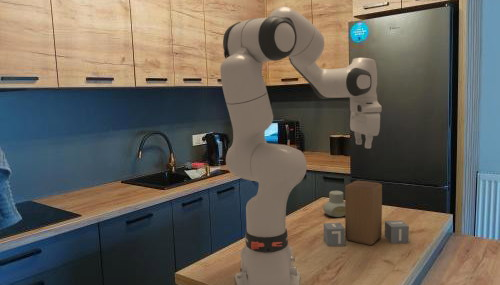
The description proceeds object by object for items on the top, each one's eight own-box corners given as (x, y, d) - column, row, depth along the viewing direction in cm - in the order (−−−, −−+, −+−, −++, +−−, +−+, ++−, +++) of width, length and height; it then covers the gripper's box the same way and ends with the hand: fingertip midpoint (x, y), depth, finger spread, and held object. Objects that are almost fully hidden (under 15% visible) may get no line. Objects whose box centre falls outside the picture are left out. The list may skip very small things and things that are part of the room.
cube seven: (345, 245, 131) (345, 228, 130) (327, 246, 131) (327, 228, 130) (340, 238, 137) (340, 222, 136) (323, 239, 137) (323, 222, 136)
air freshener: (344, 211, 168) (344, 189, 167) (352, 217, 160) (352, 193, 158) (320, 213, 166) (320, 190, 165) (327, 219, 158) (327, 195, 157)
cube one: (408, 243, 131) (409, 225, 131) (391, 243, 131) (391, 226, 130) (401, 236, 138) (401, 219, 137) (384, 237, 137) (384, 220, 137)
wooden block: (356, 231, 143) (356, 179, 141) (382, 237, 137) (383, 182, 134) (344, 240, 136) (344, 185, 133) (371, 246, 129) (372, 188, 127)
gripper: (345, 105, 141) (345, 142, 143) (364, 107, 121) (363, 151, 122) (362, 104, 141) (362, 142, 143) (383, 106, 121) (383, 150, 123)
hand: (363, 146), depth 132 cm, fingers open, 8 cm apart
